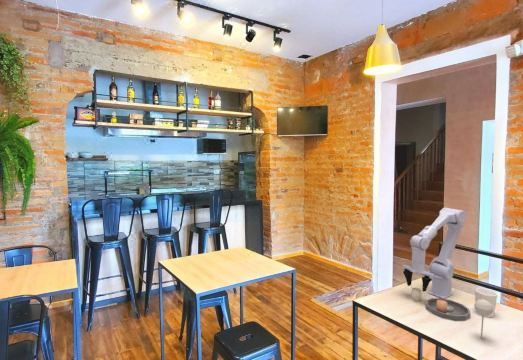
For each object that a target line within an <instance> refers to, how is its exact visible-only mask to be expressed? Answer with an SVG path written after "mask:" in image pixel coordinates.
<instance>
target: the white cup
mask: <svg viewBox="0 0 523 360" xmlns="http://www.w3.org/2000/svg"><path fill="white" fill-rule="evenodd" d="M474 294H475V295H474V300H475V301H474V303H475V302H476V301H477V300H480V299H483V300H487V301H488V302H490V303H491V305H492V307H493V312H492V314H491V315H489V316H484V318H493V317H494V316H495V311H496V306H497V298H498V294H497V292H495V291H494V290H491V289H487V288H484V287H483V288H482V287H481V288H479V287H478V288H476V289H475V291H474ZM474 310H475V309H474ZM475 313H476V314H477V315H479V316H481V317H482V315H480V314H479V313H477V311H476V310H475Z"/></svg>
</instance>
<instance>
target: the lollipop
mask: <svg viewBox="0 0 523 360" xmlns="http://www.w3.org/2000/svg"><path fill="white" fill-rule="evenodd" d="M473 306H474V310H476V311H477V313H479V314H480V315H479V314H478V315H479V316H481V315H482V316H481V328H480V339H483V332H484V331H483V330H484V318H485V317H484V316H489V315H491V314H492V312H493V307H492V305H491V303H490V302H488V301H487V300H483V299H480V300H477V301H476V302H475V301H474V305H473ZM476 311H475V312H476ZM477 313H476V314H477Z"/></svg>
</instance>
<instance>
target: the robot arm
mask: <svg viewBox="0 0 523 360" xmlns="http://www.w3.org/2000/svg"><path fill="white" fill-rule="evenodd" d="M438 214H439V215H438V216H437V218H436V219H435V220H434V221H433V223H432V224H430V225H426V226H425V227H424V228H423V229H422V230H421V231H420V232H419V233H418V234H416V235H413V236H412V237H411V238H410V240H409V243H410V246H411V247H410V249H411V265H407V264H403V265H402V271H403V272H402V273H403V275H404V278H405V280H406V285H407V286H408V287H410V286H412V280H413V279H412V278H413V274H417V275H421V276H423V277H421V282H422V289H421V292H426V291H427V289H428V287H429V284H430V282H431V289H430V290H429V291H427V294H430V295H432V296H436V297H437V298H443V299H447V298H448V297H451V296H453V294H454V293H453V292H452V278H453V277H454V271H455V270H454V269H455V265H454V263H453V262H452V261H451V260H452V257H453V255H454V251H455V248H456V246H457V243H458V240H459V236H460V233H461V230H462V228H464V224H465V222H466V219H467V215H466V212H465V211H464V210H462V209H456V208H449V207H443V208H442V209H441V210H439V212H438ZM444 225H447V227H448V228H447V231H446V233H445V238H444V240H443V243H442V246H441V249H440V252H439V255H438V256H436V257H434V258H432V260H431V262H430V264H429V265H428V266H429V267H428V271H427V270H426V269H425V265H426V250H427V249H428V248H429V247H430V243H431V241H432V240H433V239H434V238H435V237H436V236H437V235H438V230H439V229H441V228H442V227H444Z"/></svg>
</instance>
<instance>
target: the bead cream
mask: <svg viewBox="0 0 523 360" xmlns="http://www.w3.org/2000/svg"><path fill="white" fill-rule="evenodd" d="M411 300H412V301H414V302H421V300H422V289H421V288H418V287H412V288H411Z"/></svg>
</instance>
